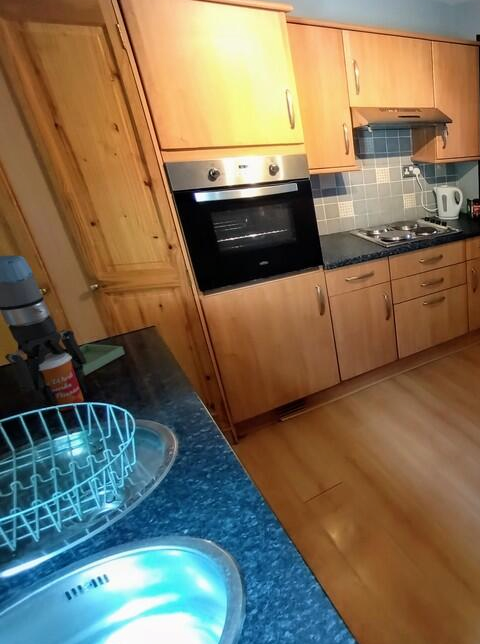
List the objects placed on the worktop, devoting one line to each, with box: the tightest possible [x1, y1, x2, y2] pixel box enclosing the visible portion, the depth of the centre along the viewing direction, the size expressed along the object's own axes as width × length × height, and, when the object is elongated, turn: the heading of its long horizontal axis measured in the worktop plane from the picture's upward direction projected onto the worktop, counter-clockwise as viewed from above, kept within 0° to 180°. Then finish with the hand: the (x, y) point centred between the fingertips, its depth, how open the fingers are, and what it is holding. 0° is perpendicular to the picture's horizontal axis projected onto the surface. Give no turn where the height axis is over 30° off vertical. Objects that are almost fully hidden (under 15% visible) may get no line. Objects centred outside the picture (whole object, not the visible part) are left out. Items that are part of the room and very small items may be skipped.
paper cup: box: [35, 352, 85, 412], centre depth 115 cm, size 8×8×14 cm
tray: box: [66, 343, 126, 376], centre depth 136 cm, size 13×13×3 cm
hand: (67, 399), depth 117 cm, fingers closed on paper cup, 6 cm apart
